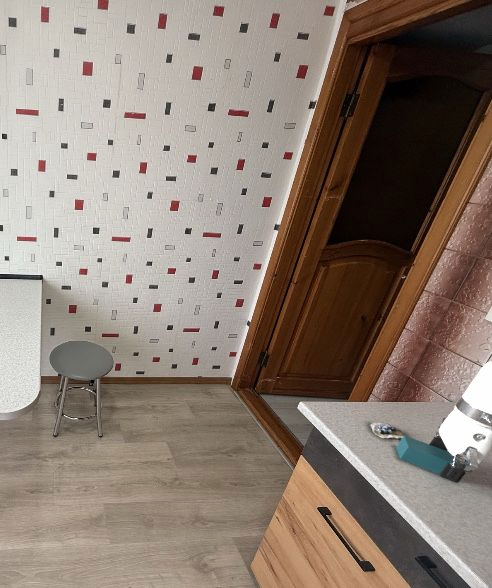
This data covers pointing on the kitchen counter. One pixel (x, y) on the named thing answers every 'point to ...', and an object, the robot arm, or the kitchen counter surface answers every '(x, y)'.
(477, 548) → the kitchen counter surface
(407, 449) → the teal rectangular block
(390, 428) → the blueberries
